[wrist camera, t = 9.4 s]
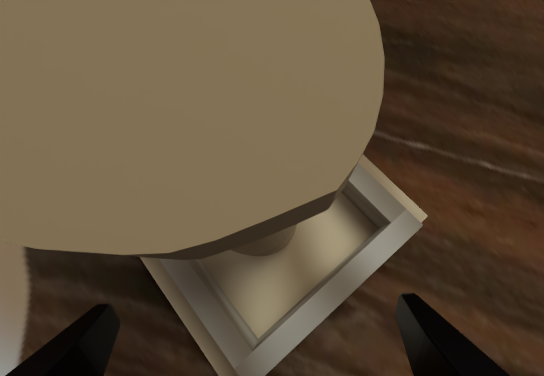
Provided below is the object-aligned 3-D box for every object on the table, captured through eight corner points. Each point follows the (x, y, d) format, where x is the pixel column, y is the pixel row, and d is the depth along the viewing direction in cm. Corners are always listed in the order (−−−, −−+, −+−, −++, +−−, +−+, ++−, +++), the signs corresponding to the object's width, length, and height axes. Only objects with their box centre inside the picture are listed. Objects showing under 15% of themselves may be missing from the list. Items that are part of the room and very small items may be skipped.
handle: (317, 271, 17) (396, 274, 2) (216, 264, 18) (-161, 235, 3) (318, 196, 18) (375, -82, 4) (225, 192, 19) (-13, -48, 5)
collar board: (237, 391, 16) (223, 423, 13) (127, 227, 20) (93, 219, 16) (420, 218, 18) (449, 207, 15) (293, 96, 22) (294, 65, 18)
